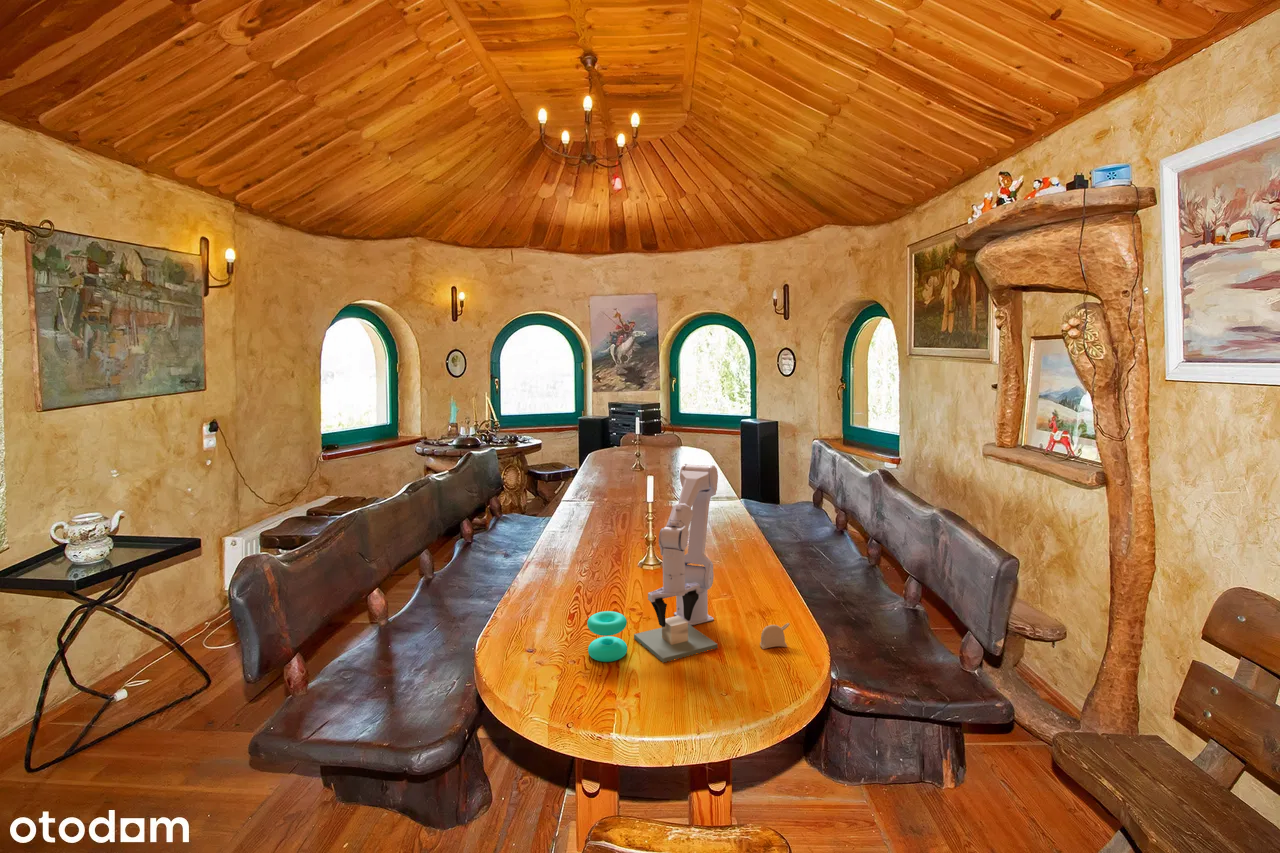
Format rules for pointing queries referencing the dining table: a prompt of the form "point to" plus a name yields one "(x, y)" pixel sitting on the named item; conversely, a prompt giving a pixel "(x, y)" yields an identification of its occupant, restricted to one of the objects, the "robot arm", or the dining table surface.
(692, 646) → the board
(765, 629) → the decorative ornament
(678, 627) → the cream cube
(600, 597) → the dining table surface
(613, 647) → the donuts
